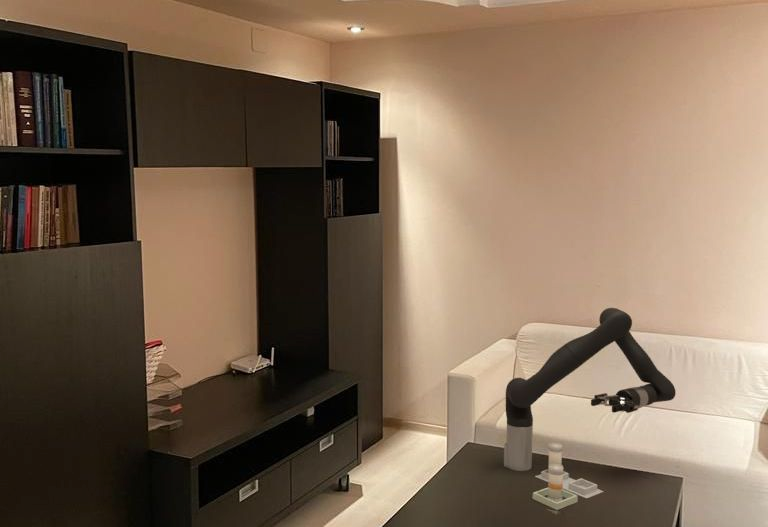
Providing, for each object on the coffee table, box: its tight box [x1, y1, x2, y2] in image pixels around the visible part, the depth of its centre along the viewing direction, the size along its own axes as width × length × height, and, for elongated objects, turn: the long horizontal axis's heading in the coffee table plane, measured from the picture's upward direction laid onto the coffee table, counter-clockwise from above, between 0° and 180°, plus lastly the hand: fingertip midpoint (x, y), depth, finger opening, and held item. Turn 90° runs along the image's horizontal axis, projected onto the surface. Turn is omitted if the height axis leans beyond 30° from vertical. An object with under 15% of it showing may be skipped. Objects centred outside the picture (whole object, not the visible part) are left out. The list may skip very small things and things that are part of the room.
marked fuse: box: [547, 464, 564, 502], centre depth 233 cm, size 5×5×12 cm
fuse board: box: [534, 469, 604, 499], centre depth 246 cm, size 22×9×4 cm, turn 36°
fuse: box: [547, 441, 563, 474], centre depth 251 cm, size 5×5×12 cm
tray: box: [532, 487, 579, 515], centre depth 233 cm, size 10×10×4 cm
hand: (602, 406), depth 243 cm, fingers open, 8 cm apart
